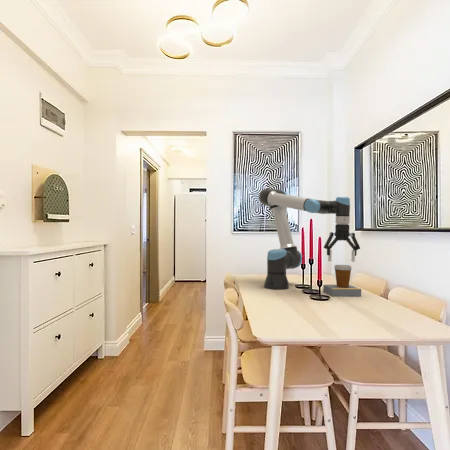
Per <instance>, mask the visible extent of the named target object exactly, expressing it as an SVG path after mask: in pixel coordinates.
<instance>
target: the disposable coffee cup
mask: <svg viewBox="0 0 450 450" xmlns="http://www.w3.org/2000/svg"><path fill="white" fill-rule="evenodd" d="M333 268H334V271H335V281H336V283H335V284H336V285H337V287H341V288H348V287H349V285H350V280H351V273H352V269H353V268H352V266H351V265H349V264H335V265H334V267H333Z"/></svg>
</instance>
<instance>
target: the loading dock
mask: <svg viewBox="0 0 450 450" xmlns="http://www.w3.org/2000/svg"><path fill="white" fill-rule="evenodd" d="M322 286H323V288H322V289H323V293H326V294H328V295H330V296H331V297H362V288H360V287H357V286H355V285H352V284H349V287H348V288H341V287H337V284H323V285H322Z"/></svg>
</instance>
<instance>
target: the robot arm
mask: <svg viewBox="0 0 450 450" xmlns="http://www.w3.org/2000/svg"><path fill="white" fill-rule="evenodd" d="M258 199H259V202H260V203H261V204H262V205H263V206H265V207H266V206H267V207H268V208H269V210H270V212H271V213H273V218H274V222H275V228H276V231H277V237H278V241H279V245H280V248H276V249H275V248H274V249H270V250H268V251H267V257H266V259H267V260H266V261H267V263H266V264H267V265H266V268H267V271H266V272H267V273H266V277H265V280H264V284H263V285H264V288H266V289H269V290H272V289H273V290H287V289H289V288H290V283H289V280H288V277H287V270H293V269H297V268H299V267H300V266H301V264H302V263H303V260H302V257H303V254H302V253H301V252H300V250H298V247H297V245H295V244H294V240H293V236H292V235H293V234H292V232H291V226H290V223H289V218H288V214H287V208H289V209H293V210H298V211H303V212H307V213H310V214H321V215H330V214H332V215H333V214H335V221H334V223H335V225H334V226H335V227H334V228H335V230H334V231H335V232H332V231H330V232H329V237H327V239H326V242H325V244H324V246H323V248H324V249H325V250H326V255H327V256H328V258H327V259H328V262H332V254H333V253H332V252H333V251H332V248H333V247H334V246H335V245H336V244H337V242H338V241H345V242H346V243H347V244H348V245H349V246H350V247H351V248H352V249H351V262H353V263H355V262H356V256H357V251H358V250H360V249H361V246H360V244H359V243H358V240H357V238H356V234H355V232H350V222H351V221H350V213H351V212H350V211H351V199H350V197H349V196H337V197H336V198H335V200H321V199H320V200H319V199H314V198H307V197H303V196H296V195H290V194H288V193H287V192H286V191H284V190H283V189H280V188H279V189H276V188H268V187H267V188H264V189H262V190H261V191H260V193H259V195H258ZM334 236H335V237H334ZM350 237H351V239H350ZM333 238H334V239H333ZM351 240H352V241H351Z"/></svg>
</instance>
